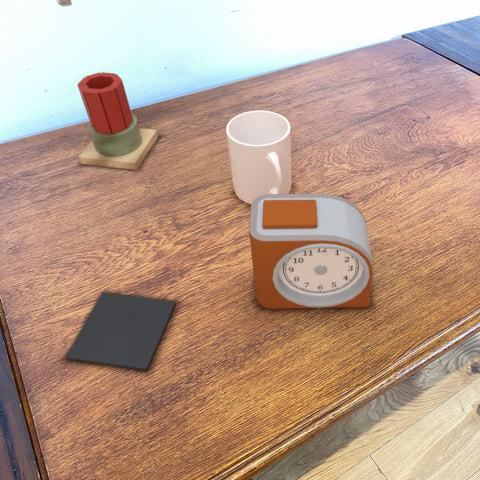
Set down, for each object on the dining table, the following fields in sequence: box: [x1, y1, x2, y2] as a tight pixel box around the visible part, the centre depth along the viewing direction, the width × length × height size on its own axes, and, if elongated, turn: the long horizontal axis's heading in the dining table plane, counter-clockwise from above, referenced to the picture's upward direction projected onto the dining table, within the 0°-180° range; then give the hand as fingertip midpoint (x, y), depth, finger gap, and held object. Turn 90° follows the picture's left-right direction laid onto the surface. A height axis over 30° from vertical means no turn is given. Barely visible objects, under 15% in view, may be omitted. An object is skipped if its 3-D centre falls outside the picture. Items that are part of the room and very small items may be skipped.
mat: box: [65, 291, 177, 372], centre depth 64 cm, size 10×10×1 cm
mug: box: [225, 110, 293, 205], centre depth 79 cm, size 10×12×12 cm
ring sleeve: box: [76, 71, 133, 134], centre depth 84 cm, size 6×6×8 cm
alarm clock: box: [248, 193, 374, 310], centre depth 65 cm, size 15×8×14 cm, turn 92°
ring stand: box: [78, 112, 159, 171], centre depth 86 cm, size 10×10×11 cm
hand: (90, 1), depth 84 cm, fingers open, 8 cm apart
